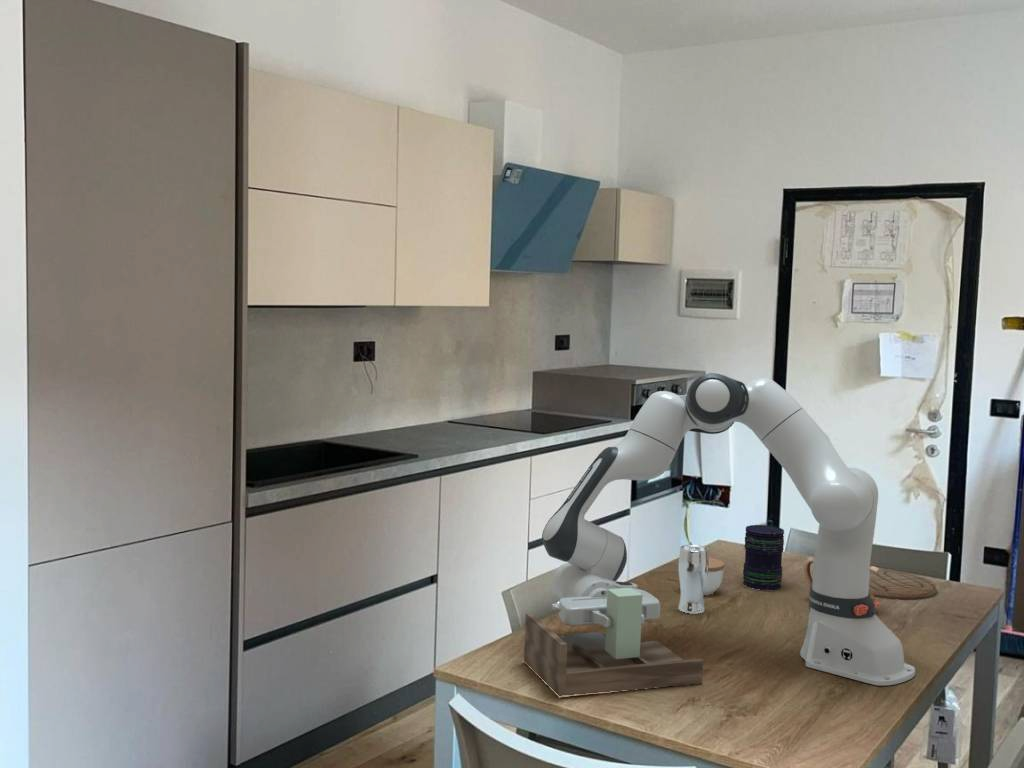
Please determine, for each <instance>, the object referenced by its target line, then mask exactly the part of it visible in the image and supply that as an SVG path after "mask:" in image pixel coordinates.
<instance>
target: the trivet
mask: <svg viewBox="0 0 1024 768" xmlns="http://www.w3.org/2000/svg"><path fill="white" fill-rule="evenodd" d="M877 568H878V569H879V571H878V572H877V573H876V574H875V573H874V572H870V576H869V589H870V590H871V592H872V593H873V595H874V597H875V598H877V597H879V598H878V599H885V598H886V600H895V599H899V600H898V601H901V600H902V601H919V600H926V599H925V598H927V599H930V598H933V597H934V596H935V595H936V594H937V584H936V583H934V581H932V580H930V579H929V578H925V577H923V576H920V575H919V574H918V575H917V574H913V573H910V572H906V571H901V570H894V569H888V568H879V567H877ZM929 597H930V598H929ZM918 599H919V600H918Z"/></svg>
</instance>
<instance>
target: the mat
mask: <svg viewBox="0 0 1024 768" xmlns="http://www.w3.org/2000/svg"><path fill="white" fill-rule="evenodd" d="M556 635H557V636H558V634H556ZM559 635H560V636H558V637H560V638H561V639H562V640H563V641H564V642H565V643H566V644H567V649H569V648H572V642H576V643H577V644H579V645H580V646H581V647H592V646H603V645H605V635H603V634H602V633H601V632H599V631H593V632H582V633H572V634H571V633H569V634H559ZM561 635H562V636H563V637H562V636H561Z"/></svg>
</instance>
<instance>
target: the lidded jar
mask: <svg viewBox="0 0 1024 768" xmlns="http://www.w3.org/2000/svg"><path fill="white" fill-rule="evenodd" d="M724 568H725V562H723V561H722V560H720V559H716V558H712V557H709V567H708V575H707V580H706V585H705V589H704V595H705V596H709V595H708V594H712V593H713V594H714V592H716V591H717V590H718V589H719V587H720V586H721V584H722V581H723V577H724ZM713 594H712V595H713ZM704 595H703V596H704Z"/></svg>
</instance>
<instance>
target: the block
mask: <svg viewBox="0 0 1024 768" xmlns="http://www.w3.org/2000/svg"><path fill="white" fill-rule="evenodd" d="M642 596H643V595H642V594H640V593H639V592H637V591H636V590H634V589H632V588H617V589H607V609H606V616H607V615H610V616H611V617H613V619H614V622H613V627H605V635H604V636H605V651H606V652H608V653H609V654H610V655H611V656H612V657H614V658H615V659H623V658H634V657H640V642H641V637H642V635H641V634H642V624H641V618H642Z"/></svg>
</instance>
